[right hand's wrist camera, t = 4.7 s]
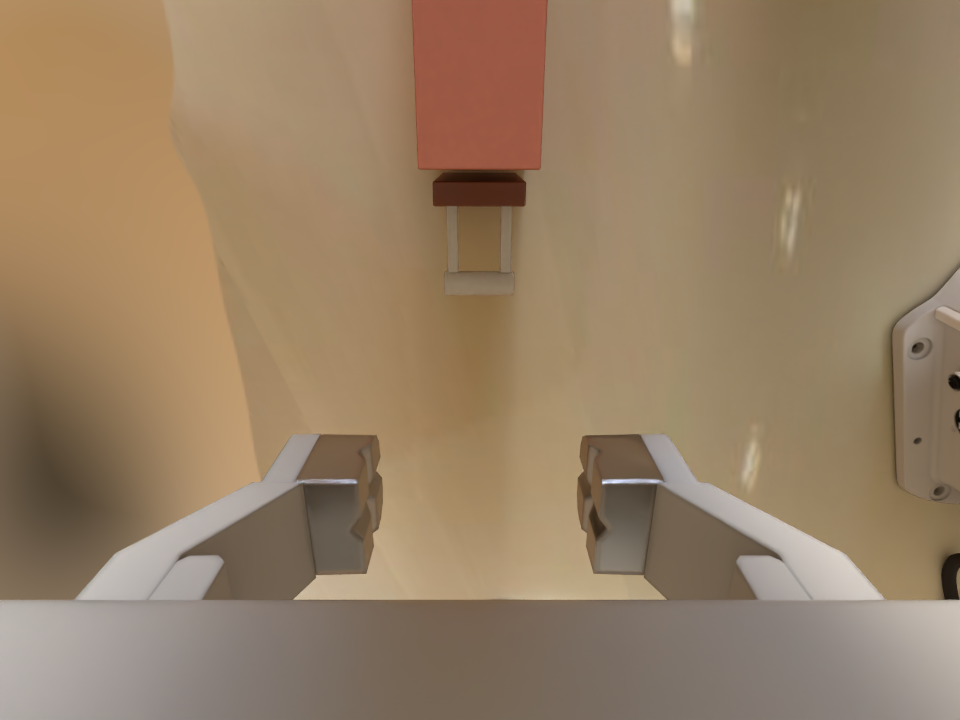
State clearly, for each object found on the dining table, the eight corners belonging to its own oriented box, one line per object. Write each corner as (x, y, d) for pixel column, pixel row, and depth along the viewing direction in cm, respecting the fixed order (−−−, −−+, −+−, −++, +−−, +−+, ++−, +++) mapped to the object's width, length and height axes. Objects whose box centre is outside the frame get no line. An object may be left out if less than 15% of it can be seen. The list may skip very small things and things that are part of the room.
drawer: (513, 273, 37) (522, 307, 30) (445, 273, 37) (436, 307, 30) (523, -155, 29) (540, -262, 21) (435, -155, 29) (419, -262, 21)
